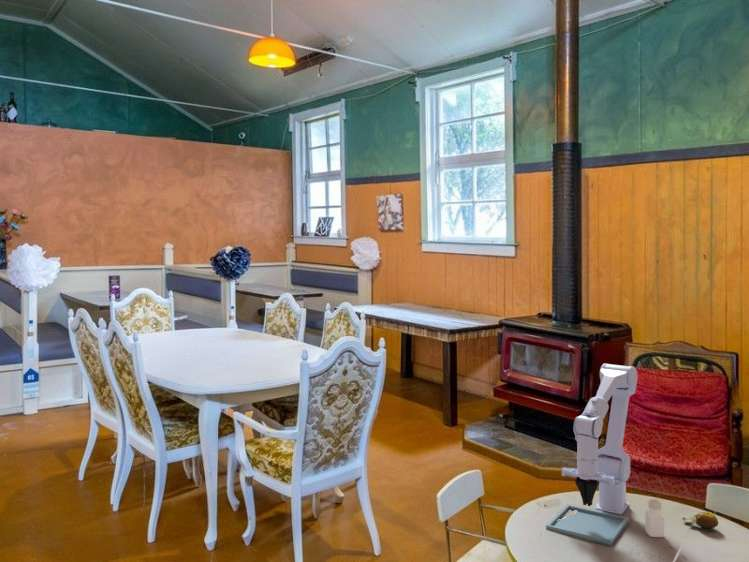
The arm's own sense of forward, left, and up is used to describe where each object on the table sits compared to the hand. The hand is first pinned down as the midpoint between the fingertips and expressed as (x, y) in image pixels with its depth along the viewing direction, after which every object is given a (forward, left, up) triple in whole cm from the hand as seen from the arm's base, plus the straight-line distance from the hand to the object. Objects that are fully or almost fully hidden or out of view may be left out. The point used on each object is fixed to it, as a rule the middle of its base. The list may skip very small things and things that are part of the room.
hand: (587, 504), depth 182 cm
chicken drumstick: (-20, +23, -8) cm, 32 cm away
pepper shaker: (-5, +17, -7) cm, 19 cm away
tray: (0, 0, -6) cm, 6 cm away
